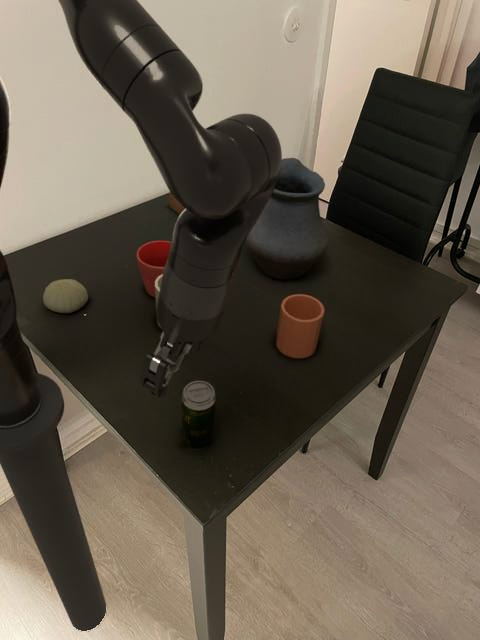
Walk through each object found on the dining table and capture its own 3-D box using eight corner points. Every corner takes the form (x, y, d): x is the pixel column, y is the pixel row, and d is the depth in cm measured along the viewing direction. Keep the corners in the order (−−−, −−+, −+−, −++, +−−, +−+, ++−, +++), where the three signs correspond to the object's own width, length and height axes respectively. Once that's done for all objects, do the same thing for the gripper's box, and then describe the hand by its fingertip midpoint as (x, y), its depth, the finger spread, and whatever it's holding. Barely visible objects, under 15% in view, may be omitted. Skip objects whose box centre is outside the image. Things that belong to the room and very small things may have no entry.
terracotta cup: (290, 363, 101) (297, 326, 94) (268, 337, 106) (273, 301, 100) (324, 350, 104) (332, 314, 98) (301, 326, 110) (307, 289, 103)
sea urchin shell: (68, 317, 104) (43, 285, 103) (54, 326, 110) (30, 296, 108) (99, 294, 110) (76, 264, 109) (84, 304, 116) (62, 276, 114)
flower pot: (179, 271, 122) (178, 236, 116) (191, 298, 114) (191, 263, 108) (135, 278, 119) (132, 243, 113) (145, 306, 111) (142, 271, 105)
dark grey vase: (241, 291, 118) (249, 193, 101) (238, 241, 134) (244, 149, 117) (328, 294, 119) (349, 197, 102) (314, 243, 135) (331, 153, 119)
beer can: (207, 421, 89) (208, 376, 81) (218, 446, 85) (221, 400, 77) (178, 430, 87) (176, 384, 79) (188, 455, 84) (188, 410, 76)
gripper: (197, 242, 61) (178, 324, 73) (128, 314, 52) (119, 394, 64) (251, 271, 60) (222, 349, 72) (190, 351, 51) (169, 425, 63)
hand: (174, 370), depth 68 cm, fingers open, 8 cm apart
